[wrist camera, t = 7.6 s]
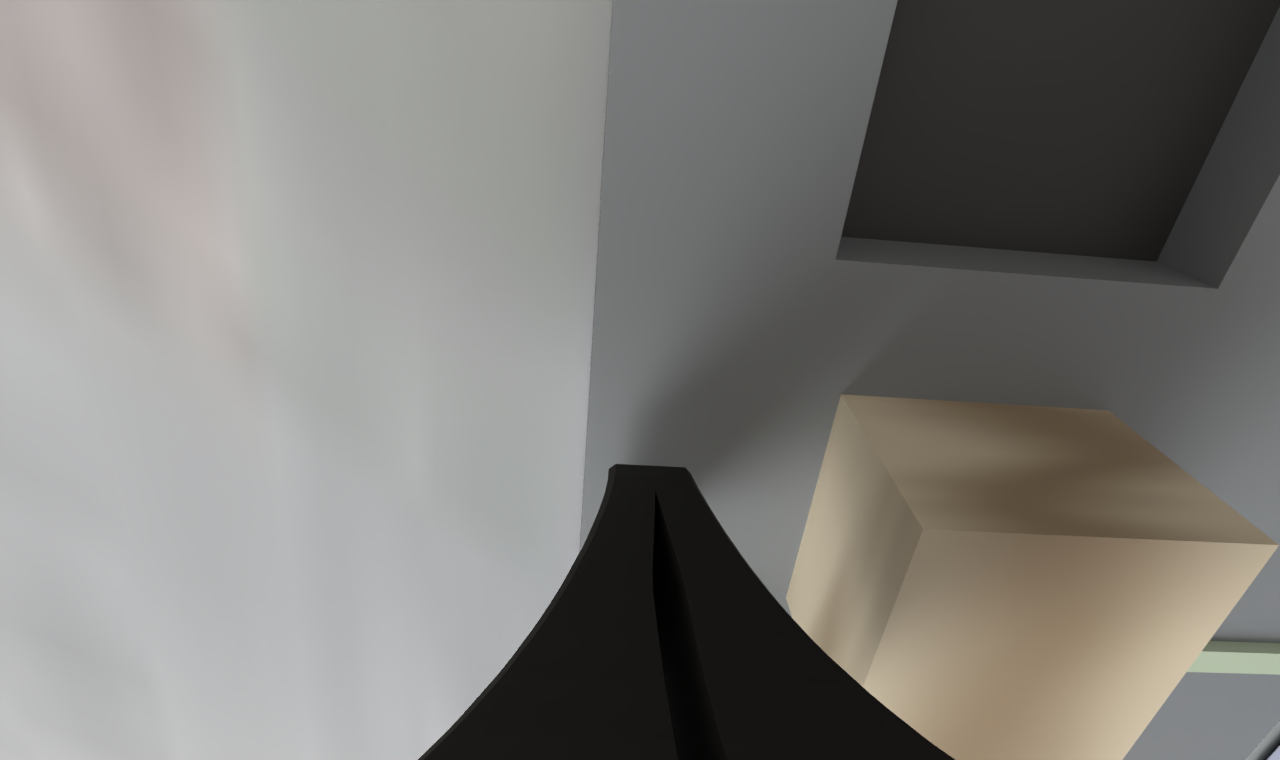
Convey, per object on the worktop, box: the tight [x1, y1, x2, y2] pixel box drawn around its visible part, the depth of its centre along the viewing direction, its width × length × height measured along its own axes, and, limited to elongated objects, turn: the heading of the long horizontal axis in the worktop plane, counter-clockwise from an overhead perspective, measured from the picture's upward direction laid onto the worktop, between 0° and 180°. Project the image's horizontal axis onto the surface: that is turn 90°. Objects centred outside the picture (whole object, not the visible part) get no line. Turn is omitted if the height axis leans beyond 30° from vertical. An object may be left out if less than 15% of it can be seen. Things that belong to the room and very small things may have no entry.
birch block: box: [786, 394, 1279, 760], centre depth 11 cm, size 5×5×4 cm
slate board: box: [580, 0, 1280, 760], centre depth 12 cm, size 18×23×3 cm
